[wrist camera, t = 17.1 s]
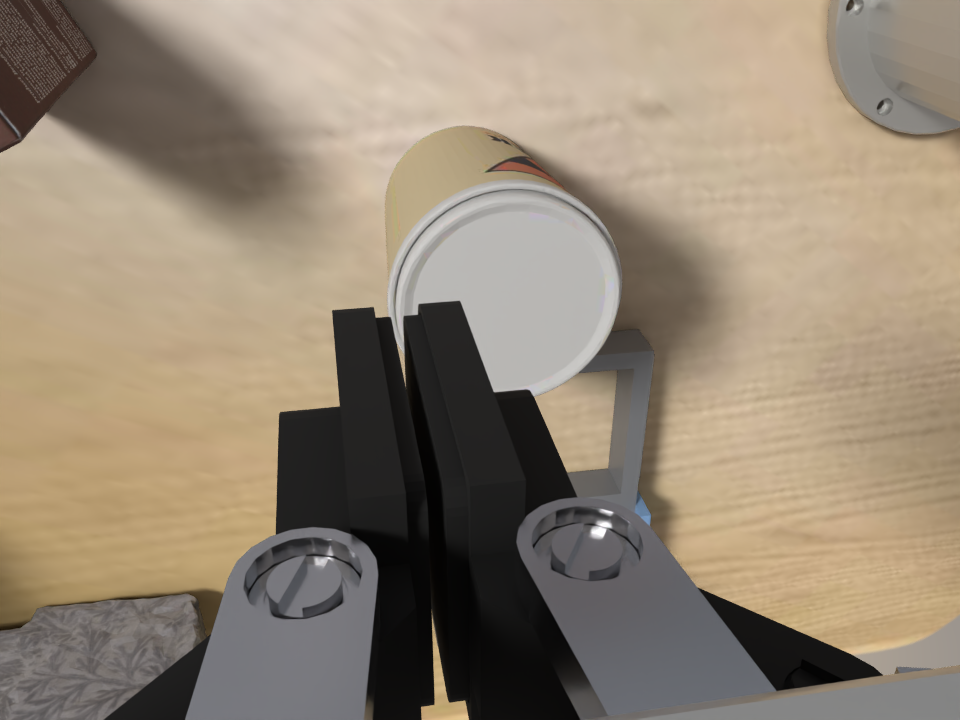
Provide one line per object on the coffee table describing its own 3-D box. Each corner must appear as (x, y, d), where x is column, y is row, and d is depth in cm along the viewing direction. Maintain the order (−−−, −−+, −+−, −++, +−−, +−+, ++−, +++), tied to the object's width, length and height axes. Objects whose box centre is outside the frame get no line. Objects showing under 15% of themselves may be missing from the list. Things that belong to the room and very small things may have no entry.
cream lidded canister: (586, 216, 46) (669, 320, 36) (440, 319, 48) (480, 448, 38) (486, 66, 42) (548, 137, 31) (328, 186, 43) (338, 291, 33)
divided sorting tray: (649, 328, 50) (671, 358, 47) (618, 593, 60) (635, 632, 57) (425, 345, 48) (434, 378, 45) (432, 616, 58) (439, 658, 55)
